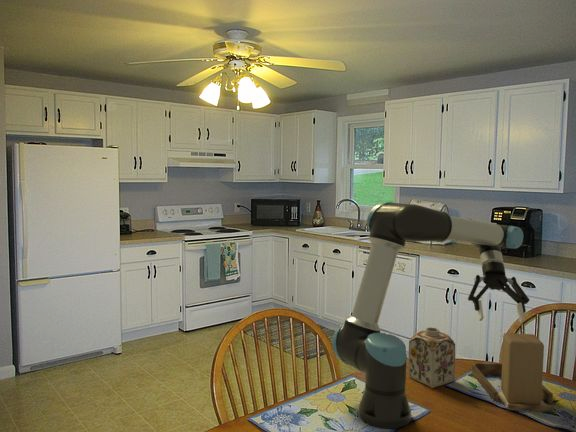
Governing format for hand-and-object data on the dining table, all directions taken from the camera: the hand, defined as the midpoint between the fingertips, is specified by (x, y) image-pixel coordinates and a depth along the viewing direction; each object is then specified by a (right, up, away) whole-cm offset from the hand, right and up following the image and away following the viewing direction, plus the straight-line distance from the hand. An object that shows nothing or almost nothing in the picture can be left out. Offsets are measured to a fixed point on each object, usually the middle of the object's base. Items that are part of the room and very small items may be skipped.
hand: (501, 320), depth 164 cm
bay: (+2, -22, -4) cm, 23 cm away
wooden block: (+1, -23, -10) cm, 25 cm away
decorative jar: (-23, -22, +5) cm, 32 cm away
